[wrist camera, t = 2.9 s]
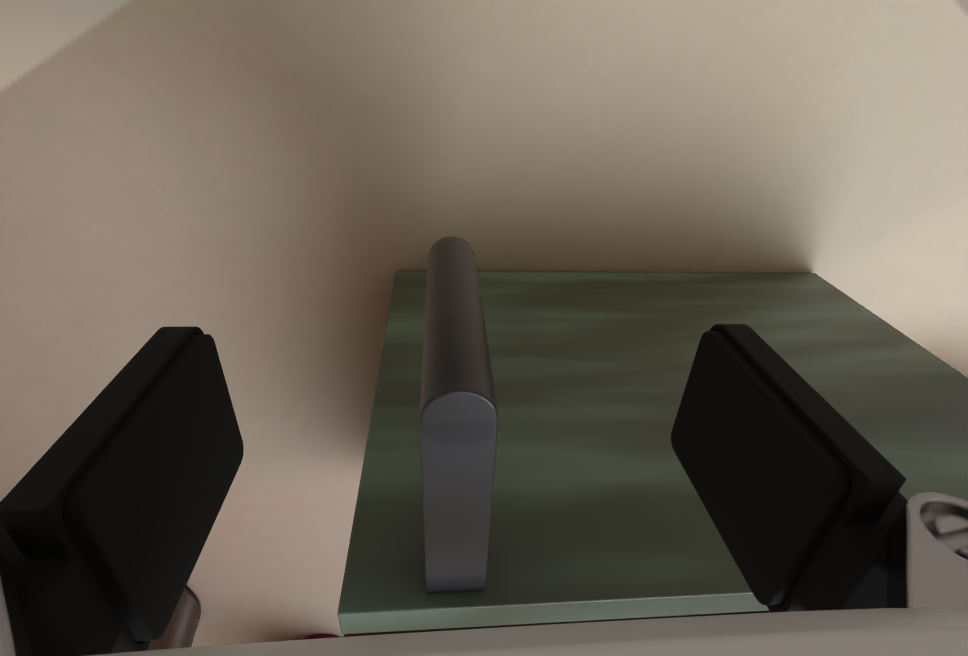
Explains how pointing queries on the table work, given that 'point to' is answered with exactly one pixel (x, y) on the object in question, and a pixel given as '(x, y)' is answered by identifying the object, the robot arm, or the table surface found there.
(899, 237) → the table surface
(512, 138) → the table surface
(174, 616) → the plant pot
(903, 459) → the cupboard door
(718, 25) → the table surface
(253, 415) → the table surface
